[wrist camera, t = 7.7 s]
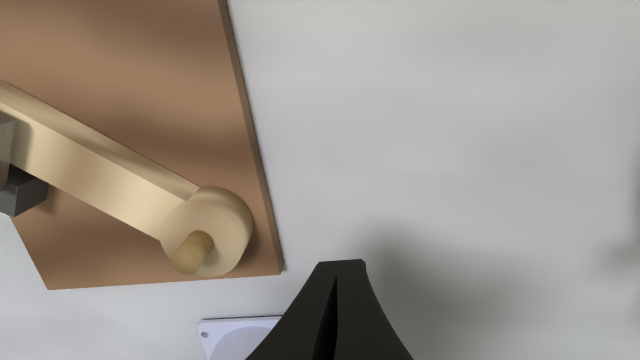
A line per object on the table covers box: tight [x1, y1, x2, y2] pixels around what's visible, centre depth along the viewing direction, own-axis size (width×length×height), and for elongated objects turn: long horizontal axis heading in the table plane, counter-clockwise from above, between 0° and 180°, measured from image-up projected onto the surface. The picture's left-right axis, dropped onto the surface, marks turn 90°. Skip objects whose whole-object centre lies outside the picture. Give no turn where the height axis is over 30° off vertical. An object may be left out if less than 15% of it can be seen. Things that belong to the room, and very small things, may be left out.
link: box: [0, 80, 254, 277], centre depth 19 cm, size 15×4×4 cm, turn 60°
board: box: [0, 0, 284, 290], centre depth 21 cm, size 18×16×1 cm
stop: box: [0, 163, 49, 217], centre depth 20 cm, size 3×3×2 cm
